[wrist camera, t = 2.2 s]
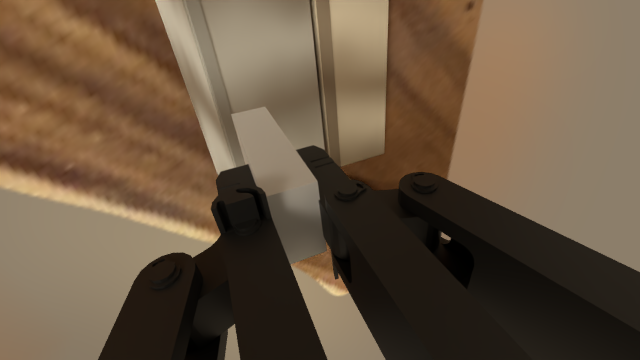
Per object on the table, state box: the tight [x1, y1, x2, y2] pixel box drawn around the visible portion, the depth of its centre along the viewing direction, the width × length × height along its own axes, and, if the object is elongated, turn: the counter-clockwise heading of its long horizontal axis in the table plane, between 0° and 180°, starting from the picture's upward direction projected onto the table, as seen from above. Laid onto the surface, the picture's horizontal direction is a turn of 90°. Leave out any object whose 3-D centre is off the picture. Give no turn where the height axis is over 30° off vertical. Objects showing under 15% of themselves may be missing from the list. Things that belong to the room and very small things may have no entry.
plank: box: [155, 0, 325, 176], centre depth 18 cm, size 13×8×2 cm
